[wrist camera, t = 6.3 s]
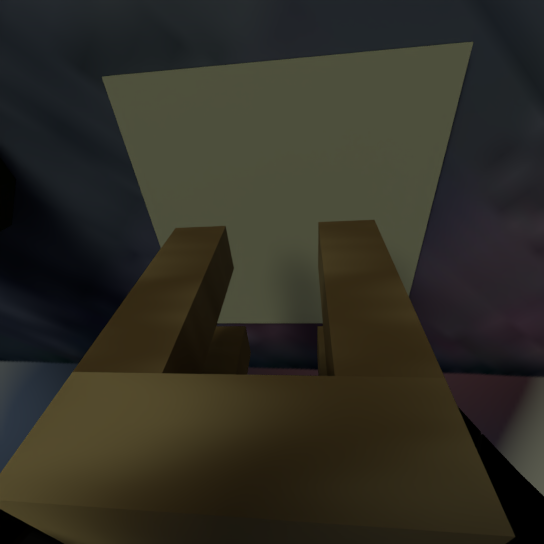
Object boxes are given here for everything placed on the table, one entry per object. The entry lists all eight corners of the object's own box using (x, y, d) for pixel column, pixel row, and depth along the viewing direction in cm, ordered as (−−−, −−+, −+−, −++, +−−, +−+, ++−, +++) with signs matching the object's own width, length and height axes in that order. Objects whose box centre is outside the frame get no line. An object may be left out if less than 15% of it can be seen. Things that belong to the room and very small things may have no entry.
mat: (465, 42, 11) (473, 41, 10) (399, 316, 19) (401, 323, 19) (109, 75, 12) (101, 76, 12) (189, 316, 21) (186, 323, 20)
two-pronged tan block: (374, 219, 9) (515, 537, 3) (356, 353, 12) (406, 614, 6) (175, 228, 9) (-19, 499, 4) (213, 352, 13) (146, 588, 7)
